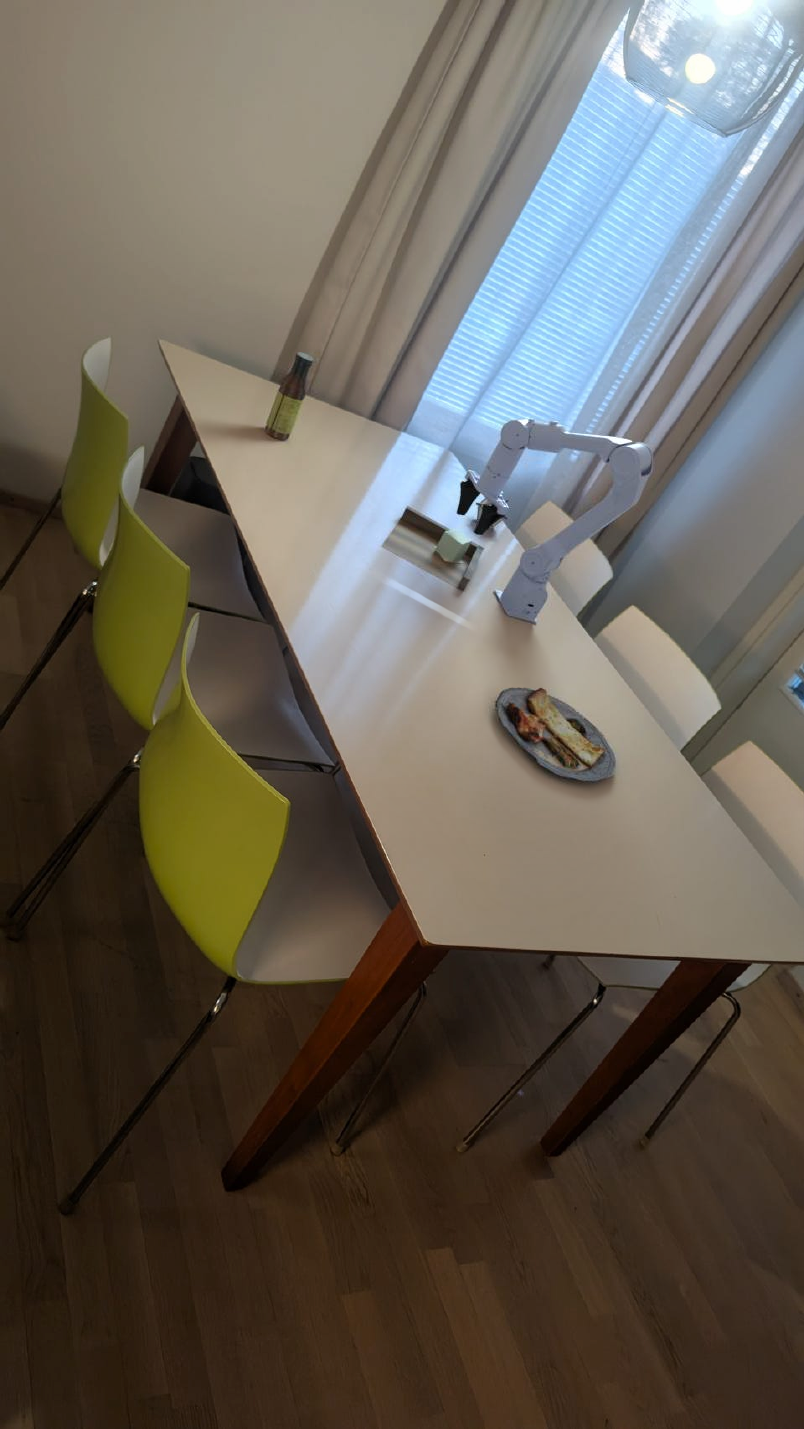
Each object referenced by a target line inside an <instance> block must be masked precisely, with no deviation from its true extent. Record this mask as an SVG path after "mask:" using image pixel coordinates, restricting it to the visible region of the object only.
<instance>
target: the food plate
mask: <svg viewBox="0 0 804 1429" xmlns="http://www.w3.org/2000/svg"><path fill="white" fill-rule="evenodd" d="M494 706H495V709H494V711H496V714H497V715H498V716H499V717H498V720H499V722H500V723H501V724H502V725H503V726H504V728H505V730H507V731H508V732H509V733H510V734H511V736H512V737H513V738H514V739H515V740H516V742H517V743H518V746H519V747H520V748H521V749H523V750H525V751H526V752H527V753H529V755H530V756H533V757H534V759H536V762H537V763H538V764H539V765H540V766H542V767H543V768H546V769H547V770H549V771H551V772H552V773H553V774H555V775H558V776H560V777H565V778H567V779H576V780H579V781H583V782H587V781H588V782H597V781H602V780H606V779H608V778H610V777H612V776H614V774H615V772H616V768H617V759H616V755H615V752H614V750H613V749H612V748H611V746H610V744H609V743H608V739H607V738H606V737H605V735H604V734H603V733H602V732H601V731H600V730H599V729H598V727H596V726H595V725H594V724H593V723H592V722H591V721H590V720H588V719H587V718H586V717H585V716H584V715H583V714H581V713H580V712H579V711H577V710H576V708H574V707H572V706H571V705H569V704H567V702H564V701H562V700H561V699H560V698H556V697H555V696H552V695H550V694H548V692H547V689H545V688H543V687H539V688H538V689H535V690H534V689H531V688H528V687H508V688H505V689H504V690H502V691H501V692H500V693H499V694H498V697H497V699H496V700H495V705H494ZM539 752H541V753H543V755H544V757H545V758H546V759H545V758H544V757H543V756H540V754H539ZM548 756H551V757H552V758H555V759H554V760H558V761H559V763H561V765H562V766H563V767H561V766H557V765H555V764H553V763H551V762H550V761H548V760H547V759H548V758H549V759H550V757H548ZM543 758H544V759H543ZM580 763H582V764H583V765H585V766H586V768H583V769H580V770H576V771H575V769H576V768H578V766H579V767H580V766H582V765H581V764H580ZM565 768H570V769H571V770H569V769H565ZM572 769H574V770H572Z"/></svg>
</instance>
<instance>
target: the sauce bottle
mask: <svg viewBox="0 0 804 1429" xmlns="http://www.w3.org/2000/svg"><path fill="white" fill-rule="evenodd" d="M294 359H295V360H294V363H293V365H292V368H291V370H290V372H289V373H288V374H287V375H285V376H284V377H283V378H282V380H281V383H280V386H279V388H278V390H277V393H276V396H275V398H274V401H273V404H272V406H271V409H270V412H269V415H268V418H267V420H266V425H265V428H264V430H265V431H266V433H268V435H269V436H271V437H272V438H274V439H277V440H281V441H286V440H287V441H288V439H289V438H290V436H291V434H292V433H293V431H294V427H295V424H296V422H297V419H298V416H299V414H300V411H301V410H302V405H303V403H304V400H305V398H306V395H307V394H306V392H307V378H308V374H309V371H310V369H311V366H313V363H314V359H313V357H312V356H311V355H309V354H307V353H305V352H302V351H297V353H296V355H295V358H294Z"/></svg>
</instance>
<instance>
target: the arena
mask: <svg viewBox="0 0 804 1429" xmlns="http://www.w3.org/2000/svg"><path fill="white" fill-rule="evenodd" d="M448 530H451V529H450V528H449V527H448V526H445V525H443V524H441V523H439V522H437V520H433V518H431V517H428V516H427V515H425V514H423V513H422V512H420V511H419V510H416V509H414V508H412V507H410V506H409V505H407V506H406V507H405V509H404V511H403V514H402V515H401V517H400V519H399V520H398V521H397V523H396V524H395V526H394V528H393V529H392V530H391V532H390V533H389V535H387V537H386V539H385V540H384V541H383V543H382V545H381V548H383V549H386V550H387V551H389V552H391V553H393V554H395V555H396V556H398V557H400V558H402V559H403V560H405V561H407V562H409V563H410V564H413V565H414V566H416V567H418V568H420V569H422V570H423V571H425V572H427V573H428V574H430V575H433V576H435V577H436V578H437V579H438V578H439V579H440V580H441V581H443V582H445V583H448V584H449V585H451V586H453V587H454V588H456V589H458V590H460V591H462V592H464V591H465V590H466V589H467V588H466V587H467V586H468V584H469V582H470V580H471V578H472V577H473V574H474V572H475V570H476V567H477V565H478V564H479V561H480V558H481V557H482V554H483V552H484V550H485V547H483V546H481V545H479V544H477V543H476V542H474V541H472V542H471V544H470V545H469V547H468V549H467V551H466V553H465V554H464V556H463V558H462V559H461V560H458V561H456V562H453V563H451V562H450V561H449V560H447V559H446V558H445V557H443V556H442V555H440V554H439V553H438V552H436V551H435V549H436V547H437V545H438V543H439V541H440V539H441V538H442V536H443V534H444V532H445V531H448Z"/></svg>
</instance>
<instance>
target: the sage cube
mask: <svg viewBox="0 0 804 1429" xmlns="http://www.w3.org/2000/svg"><path fill="white" fill-rule="evenodd" d="M471 542H473V540H472V539H470V538H469V537H468V536H466V535H465V534H463V533H462V532H460V530H458V529H457V528H454V527H453V528H452V529H450V530H448V531H445V532H444V534H443V536H442V538H441V539H440V541H439V543H438V545H437V547H436V549H435V551H436V552H438V553H439V554H440V555H442V556H443V557H445V558H446V559H447V560H449V561H450V562H451V563H453V562H456V561H458V560H461V559H462V558H463V556H464V554H465V553H466V551H467V549H468V547H469V545H470V544H471Z"/></svg>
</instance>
